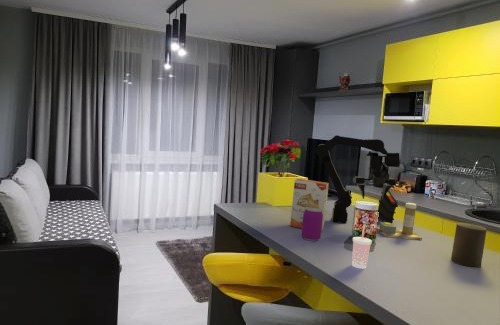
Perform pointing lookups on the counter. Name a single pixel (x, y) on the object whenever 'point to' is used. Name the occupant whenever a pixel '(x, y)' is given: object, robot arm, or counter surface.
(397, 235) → the plywood board
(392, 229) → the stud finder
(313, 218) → the beverage can
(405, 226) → the sprinkles bottle
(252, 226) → the counter surface
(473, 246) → the pillar candle
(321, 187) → the cracker box
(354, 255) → the beverage cup
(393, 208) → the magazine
